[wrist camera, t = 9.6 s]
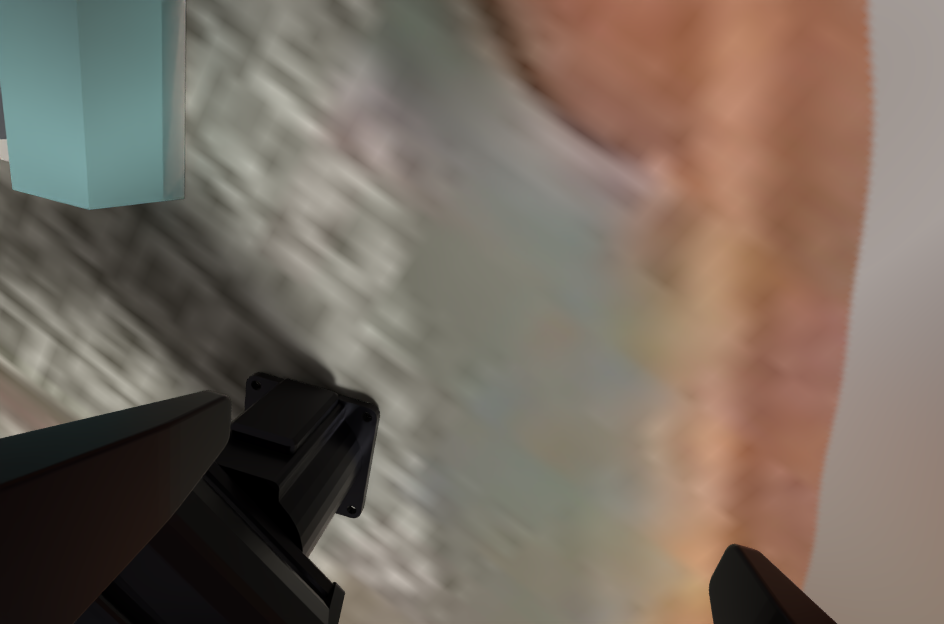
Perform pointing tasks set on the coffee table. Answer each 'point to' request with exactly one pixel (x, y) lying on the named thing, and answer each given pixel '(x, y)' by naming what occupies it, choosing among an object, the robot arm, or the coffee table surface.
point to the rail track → (94, 99)
